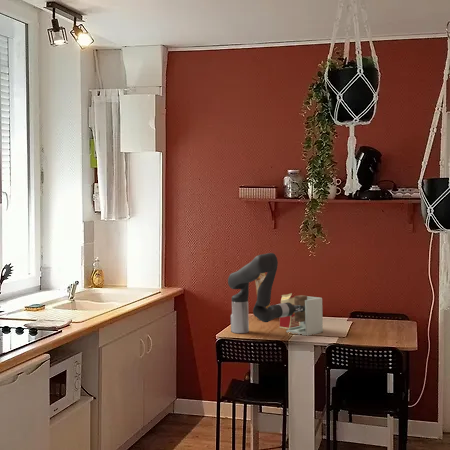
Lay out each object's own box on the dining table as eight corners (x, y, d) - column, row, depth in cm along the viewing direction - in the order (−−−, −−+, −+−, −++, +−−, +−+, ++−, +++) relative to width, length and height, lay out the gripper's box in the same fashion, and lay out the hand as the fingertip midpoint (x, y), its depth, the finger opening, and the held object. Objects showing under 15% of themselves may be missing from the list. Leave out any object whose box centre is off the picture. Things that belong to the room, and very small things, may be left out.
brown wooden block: (294, 321, 396) (294, 296, 395) (301, 320, 400) (301, 295, 400) (300, 322, 393) (299, 296, 393) (307, 320, 397) (306, 295, 397)
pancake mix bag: (251, 320, 437) (250, 274, 436) (265, 315, 453) (264, 271, 452) (261, 321, 433) (260, 275, 432) (274, 316, 450) (274, 271, 449)
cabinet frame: (286, 332, 395) (285, 298, 395) (301, 329, 404) (301, 295, 404) (307, 335, 384) (306, 300, 384) (322, 332, 393) (322, 297, 393)
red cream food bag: (299, 327, 410) (299, 292, 410) (289, 329, 404) (289, 294, 403) (287, 325, 417) (286, 291, 416) (277, 327, 410) (276, 293, 409)
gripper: (293, 304, 381) (313, 301, 393) (273, 302, 391) (294, 299, 403) (293, 318, 381) (314, 314, 393) (273, 315, 392) (294, 312, 403)
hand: (304, 306), depth 398 cm, fingers closed on brown wooden block, 4 cm apart
